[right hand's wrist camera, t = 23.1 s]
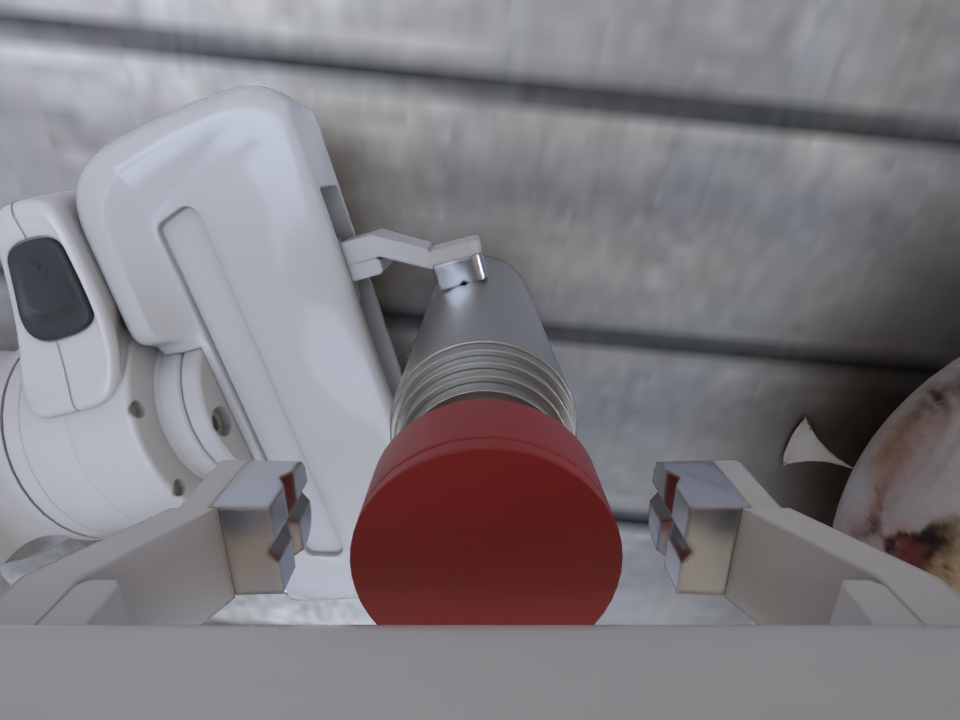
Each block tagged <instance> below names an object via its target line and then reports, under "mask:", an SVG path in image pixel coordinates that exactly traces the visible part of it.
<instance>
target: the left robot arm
mask: <svg viewBox="0 0 960 720" xmlns="http://www.w3.org/2000/svg"><path fill="white" fill-rule="evenodd" d="M0 258H1V262H2V266H3V270H4V274H5V278H6V282H7V286H8V290H9V295H10V300H11V304H12V309H13V314H14V320H15V325H16V331H17V338H18V345H19V349H17V350H16V351H0V567H1V566H2V565H3V564H4V563H8V562H13V561H18V560H21V559H25V558H28V557H31V556H34V555H37V554H40V553H43V552H45V551H47V550H49V549H51V548H53V547H55V546H57V545H59V544H61V543H63V542H64V541H66V540H68V539H75V540H102V539H105V538H107V537H109V536H111V535H113V534H115V533H118V532H120V531H122V530H124V529H126V528H128V527H130V526H133V525H135V524H137V523H139V522H141V521H143V520H146V519H148V518H150V517H152V516H154V515H156V514H158V513H161V512H163V511H165V510H167V509H169V508H179V507H180V506H181V505H182V504H183V503H184V502H185V500H186V499H187V498H188V497H189V496H190V495H191V494H192V493H193V492H194V490H195V489H196V488H197V487H198V486H199V485H200V484H201V483H202V482H203V480H204V479H205V478H206V477H207V476H208V475H209V474H210V473H211V472H212V470H213V469H214V468H215V467H216V466H217V465H218V464H219V463H220V462H221V461H226V460H250V461H252V460H259V461H301V462H302V463H303V464H304V465H305V468H306V474H307V480H308V481H307V483H306V485H305V487H304V489H303V491H302V493H303V494H304V495H305V496H306V497H307V498H308V499H309V500H310V503H311V528H310V533H309V538H308V541H307V543H306V545H305V548H304V550H302V551H301V552H299V553H298V554H297V555H295V556H294V557H295V565H296V567H295V569H294V571H293V574H292V576H291V578H290V580H289V582H288V584H287V586H286V588H285V590H284V593H285V594H287V595H289V597H290V598H291V599H293V600H310V599H347V598H359V597H358V595H357V592H356V590H355V587H354V583H353V580H352V576H351V568H350V546H351V541H352V536H353V532H354V529H355V526H356V523H357V520H358V517H359V514H360V511H361V508H362V505H363V503H364V500H365V497H366V494H367V491H368V488H369V485H370V482H371V479H372V477H373V474H374V471H375V468H376V466H377V463H378V461H379V459H380V457H381V455H382V453H383V452H384V450H385V448H386V447H387V446H388V445H389V443H390V442H391V441H390V412H391V407H392V403H393V399H394V397H395V394H396V391H397V389H398V386H399V383H400V381H401V378H402V375H403V374H402V371H401V368H400V365H399V362H398V359H397V356H396V353H395V350H394V347H393V344H392V341H391V338H390V335H389V332H388V329H387V326H386V323H385V320H384V317H383V314H382V311H381V308H380V305H379V302H378V300H377V297H376V294H375V291H374V288H373V285H372V282H371V279H370V277H372V276H376V275H380V274H382V273H383V272H384V270H385V269H386V268H387V267H388V266H389V265H390V264H391V262H392V260H395V261H399V262H403V263H407V264H411V265H415V266H419V267H423V268H427V269H431V270H434V271H435V274H436V277H437V280H438V283H439V286H440V290H441V291H444V290H448V289H452V288H454V287H457V286H460V284H461V283H462V282H463V281H465V282H467V283H471V282H478V281H481V280H484V279H486V278H488V271H487V267H486V263H485V259H484V255H483V250H482V246H481V243H480V239H479V235H471V236H467V237H463V238H459V239H455V240H452V241H448V242H444V243H440V244H437V245H433V244H432V242H429V241H426V240H422V239H419V238H415V237H412V236H408V235H404V234H401V233H397V232H394V231H390V230H387V229H383V228H382V229H379V230H375V231H371V232H368V233H364V234H360V235H357V236H356V234H355V231H354V228H353V225H352V222H351V219H350V216H349V213H348V210H347V208H346V205H345V202H344V199H343V196H342V193H341V190H340V187H339V184H338V181H337V178H336V175H335V172H334V169H333V166H332V163H331V160H330V157H329V154H328V151H327V148H326V145H325V142H324V139H323V136H322V133H321V130H320V127H319V124H318V121H317V119H316V117H315V115H314V113H313V112H312V111H311V110H310V109H309V108H308V107H306V106H304V105H303V104H301V103H299V102H298V101H296V100H294V99H292V98H291V97H289V96H287V95H285V94H283V93H281V92H278V91H276V90H273V89H270V88H266V87H260V86H244V87H238V88H234V89H231V90H227V91H224V92H221V93H218V94H215V95H212V96H210V97H207V98H204V99H201V100H199V101H196V102H193V103H191V104H188V105H186V106H183V107H181V108H179V109H176V110H174V111H172V112H169V113H167V114H165V115H163V116H161V117H158V118H156V119H154V120H152V121H150V122H148V123H146V124H144V125H142V126H140V127H138V128H136V129H134V130H132V131H130V132H128V133H126V134H124V135H123V136H121V137H119V138H117V139H115V140H114V141H112V142H111V143H109V144H107V145H106V146H105V147H103V148H102V149H101V150H99V151H98V152H97V153H96V154H95V155H94V156H93V157H92V158H91V159H90V160H89V162H88V163H87V164H86V166H85V167H84V169H83V171H82V173H81V175H80V177H79V180H78V184H77V189H70V190H64V191H58V192H52V193H47V194H42V195H38V196H34V197H30V198H26V199H22V200H19V201H15V202H12V203H10V204H7V205H5V206H4V207H2V208H1V209H0ZM9 587H11V585H10V584H9V583H8V582H7V580H6V579H5V578H4V577H3V576H2V574H1V573H0V595H2V594H3V593H4V592H5V591H6V590H7V589H8V588H9Z"/></svg>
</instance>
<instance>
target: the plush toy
mask: <svg viewBox="0 0 960 720" xmlns="http://www.w3.org/2000/svg"><path fill="white" fill-rule="evenodd" d="M803 461H821V462H830V463H834V464H838V465H842V466H845V467H848V468H852V469H853V470H852V472H851V474H850V476H849V479H848V481H847V483H846V486H845V488H844V490H843V493H842V496H841V499H840V502H839V505H838V508H837V511H836V515H835V518H834V522H833V528H834V529H836V530H838V531H840V532H842V533H844V534H847V535H849V536H851V537H853V538H855V539H857V540H859V541H862V542H864V543H866V544H868V545H870V546H872V547H874V548H877V549H879V550H881V551H883V552H885V553H887V554H890V555H892V556H894V557H896V558H898V559H900V560H902V561H905V562H907V563H909V564H911V565H913V566H915V567H917V568H920V569H922V570H924V571H926V572H928V573H930V574H932V575H935V576H937V577H939V578H941V579H942V580H943V581H944V582H945V583H946V584H947V585H949V586H950V587H951V588H952V589H953V590H954V591H955V592H956V593H958V594H959V595H960V357H959V358H957V359H955V360H954V361H952V362H951V363H950V364H948V365H947V366H945V367H944V368H943V369H941V370H940V371H939V372H937V373H936V374H934V375H933V376H932V377H930V378H929V379H928V380H927V381H925V382H924V383H923V384H922V385H921V386H920V387H918V388H917V389H916V390H915V391H914V392H913V393H911V394H910V395H909V396H908V397H907V398H906V399H905V401H904V402H903V403H902V404H901V405H900V406H899V407H898V408H897V409H896V410H895V411H894V412H893V413H892V414H891V415H890V416H889V417H888V418H887V420H886V421H885V422H884V423H883V425H882V426H881V427H880V428H879V430H878V431H877V432H876V433H875V435H874V436H873V437H872V439H871V440H870V442H869V443H868V445H867V446H866V448H865V449H864V451H863V452H862V454H861V456H860V457H859V459H858V461H857V463H856V464H855V466H854V467H852V466H850V465H848V464H846V463H845V462H843V461H842V460H840V459H839V458H837V457H836V456H835V455H833V454H832V453H831V452H830V451H829V450H828V449H827V448H826V447H825V446H824V445H823V444H822V443H821V442H820V441H819V439H818V438H817V437H816V435H815V434H814V432H813V430H812V428H811V426H810V425H809V423H808V421H807V419H806V416H805V418H804V419H803V421H802V422H801V423H800V424H799V425H798V427H797V428H796V430H795V431H794V433H793V434H792V436H791V438H790V441H789V443H788V445H787V448H786V450H785V453H784V456H783V466H784V465H787V464H791V463H796V462H803Z"/></svg>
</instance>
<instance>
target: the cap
mask: <svg viewBox="0 0 960 720" xmlns="http://www.w3.org/2000/svg"><path fill="white" fill-rule="evenodd" d="M622 558H623V557H622V543H621V538H620V534H619V530H618V527H617V524H616V522H615V519H614V517H613V514H612V511H611V509H610V506H609V504H608V501H607V499H606V496H605V494H604V491H603V488H602V486H601V483H600V481H599V478H598V476H597V473H596V471H595V468H594V466H593V463H592V461H591V459H590V457H589V455H588V453H587V452H586V450H585V448H584V447H583V445H582V444H581V443H580V442H579V440H578V439H577V438H576V437H575V436H574V435H573V434H572V433H571V432H570V431H569V430H568V429H567V428H566V427H565V426H564V425H562V424H561V423H559V422H558V421H556V420H555V419H554V418H552V417H551V416H549V415H547V414H545V413H543V412H541V411H539V410H537V409H534V408H531V407H528V406H526V405H523V404H519V403H516V402H512V401H504V400H495V399H475V400H467V401H458V402H454V403H452V404H448V405H445V406H442V407H439V408H437V409H434V410H432V411H429V412H428V413H426V414H424V415H422V416H420V417H419V418H417V419H415V420H414V421H413V422H411V423H410V424H408V425H407V426H406V427H404V428H403V429H402V430H401V431H400V432H399V433H398V434H397V435H396V436H395V437H394V438H393V439H392V441H391V442H390V443H389V445H388V446H387V447H386V448H385V450H384V452H383V453H382V455H381V457H380V459H379V461H378V463H377V466H376V468H375V471H374V474H373V477H372V479H371V482H370V485H369V488H368V491H367V494H366V497H365V500H364V503H363V505H362V508H361V511H360V514H359V517H358V520H357V523H356V526H355V529H354V532H353V536H352V541H351V546H350V568H351V576H352V580H353V583H354V587H355V590H356V592H357V595H358V597H359V599H360V601H361V603H362V605H363V607H364V608H365V610H366V611H367V613H368V614H369V616H370V617H371V618H372V619H373V620H374V622H375V623H376V624H377V625H594V624H595V623H596V622H597V621H598V619H599V618H600V617H601V616H602V614H603V613H604V612H605V610H606V608H607V607H608V605H609V604H610V602H611V600H612V598H613V596H614V593H615V591H616V589H617V586H618V582H619V578H620V575H621V568H622Z"/></svg>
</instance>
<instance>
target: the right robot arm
mask: <svg viewBox="0 0 960 720" xmlns="http://www.w3.org/2000/svg"><path fill="white" fill-rule="evenodd" d="M307 481H308V480H307V474H306V468H305V465H304V464H303V463H302V462H301V461H259V460H252V461H250V460H226V461H221V462H220V463H219V464H218V465H217V466H216V467H215V468H214V469H213V470H212V472H211V473H210V474H209V475H208V476H207V477H206V478H205V479H204V480H203V482H202V483H201V484H200V485H199V486H198V487H197V488H196V489H195V490H194V492H193V493H192V494H191V495H190V496H189V497H188V498H187V499H186V500H185V502H184V503H183V504H182V505H181V506H180V507H179V508H169V509H167V510H165V511H163V512H161V513H158V514H156V515H154V516H152V517H150V518H148V519H146V520H143V521H141V522H139V523H137V524H135V525H133V526H130V527H128V528H126V529H124V530H122V531H120V532H118V533H115V534H113V535H111V536H109V537H107V538H105V539H102V540H100V541H98V542H96V543H94V544H92V545H90V546H87V547H85V548H83V549H81V550H79V551H77V552H75V553H72V554H70V555H68V556H66V557H64V558H62V559H59V560H57V561H55V562H53V563H51V564H49V565H47V566H44V567H42V568H40V569H38V570H36V571H34V572H31V573H29V574H27V575H25V576H23V577H21V578H20V579H18V580H17V581H16V582H15V583H14V584H13V585H12V586H11V587H9V588H8V589H7V590H6V591H5V592H4V593H3V594H2V595H0V720H960V595H959V594H958V593H956V592H955V591H954V590H953V589H952V588H951V587H950V586H949V585H947V584H946V583H945V582H944V581H943V580H942V579H941V578H939V577H937V576H935V575H932V574H930V573H928V572H926V571H924V570H922V569H920V568H917V567H915V566H913V565H911V564H909V563H907V562H905V561H902V560H900V559H898V558H896V557H894V556H892V555H890V554H887V553H885V552H883V551H881V550H879V549H877V548H874V547H872V546H870V545H868V544H866V543H864V542H862V541H859V540H857V539H855V538H853V537H851V536H849V535H847V534H844V533H842V532H840V531H838V530H836V529H834V528H832V527H829V526H827V525H825V524H823V523H821V522H819V521H817V520H814V519H812V518H810V517H808V516H806V515H804V514H802V513H799V512H797V511H795V510H793V509H791V508H781V507H780V506H779V505H778V504H777V503H776V502H775V500H774V499H773V498H772V497H771V496H770V495H769V494H768V493H767V492H766V490H765V489H764V488H763V487H762V486H761V485H760V484H759V483H758V482H757V480H756V479H755V478H754V477H753V476H752V475H751V474H750V473H749V472H748V470H747V469H746V468H745V467H744V466H743V465H742V464H741V463H740V462H738V461H736V460H716V461H675V462H657V463H656V466H655V469H654V473H653V480H652V481H653V483H654V485H655V487H656V489H657V491H658V493H657V494H656V495H655V496H654V497H653V498H652V499H651V500H650V504H649V514H648V517H649V530H650V534H651V537H652V541H653V543H654V545H655V548H656V550H658V551H659V552H661V553H662V554H663V555H665V556H666V557H665V565H664V567H665V569H666V571H667V573H668V576H669V578H670V580H671V582H672V584H673V586H674V588H675V590H676V592H677V593H678V594H714V595H725V598H727V599H728V600H729V601H730V602H732V603H733V604H734V605H735V606H736V607H738V608H739V609H740V610H741V611H742V612H744V613H745V614H746V615H747V616H748V617H750V618H751V619H752V620H753V621H754V622H756V623H757V624H758V625H202V624H203V623H205V622H206V621H207V620H208V619H209V618H211V617H212V616H213V615H214V614H215V613H217V612H218V611H219V610H220V609H221V608H223V607H224V606H225V605H226V604H228V603H229V602H230V601H231V600H232V599H234V598H235V595H246V594H281V593H284V590H285V588H286V586H287V584H288V582H289V580H290V578H291V576H292V574H293V571H294V569H295V567H296V565H295V557H294V556H295V555H297V554H298V553H299V552H301V551H302V550H304V548H305V545H306V543H307V541H308V538H309V533H310V528H311V503H310V500H309V499H308V498H307V497H306V496H305V495H304V494H303V493H302V491H303V489H304V487H305V485H306V483H307Z"/></svg>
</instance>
